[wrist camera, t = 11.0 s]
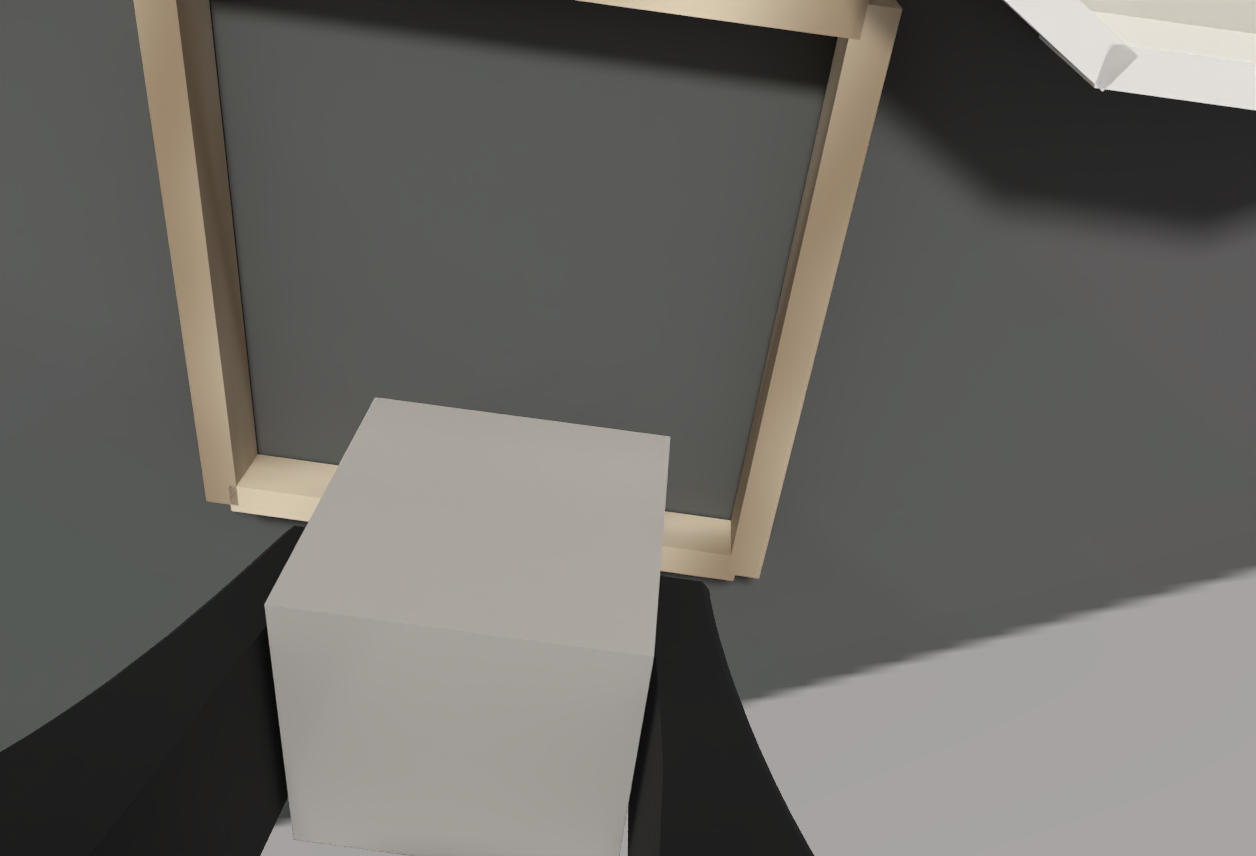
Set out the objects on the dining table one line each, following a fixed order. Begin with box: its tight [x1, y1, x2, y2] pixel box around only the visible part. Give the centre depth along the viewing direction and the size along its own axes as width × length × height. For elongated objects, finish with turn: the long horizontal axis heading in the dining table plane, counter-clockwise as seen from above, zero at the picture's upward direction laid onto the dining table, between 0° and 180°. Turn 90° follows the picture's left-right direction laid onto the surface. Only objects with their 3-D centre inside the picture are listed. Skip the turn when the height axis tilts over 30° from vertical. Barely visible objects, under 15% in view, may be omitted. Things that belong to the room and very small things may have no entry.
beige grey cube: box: [264, 397, 670, 856], centre depth 13 cm, size 4×4×4 cm
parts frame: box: [133, 0, 902, 581], centre depth 19 cm, size 12×12×1 cm
